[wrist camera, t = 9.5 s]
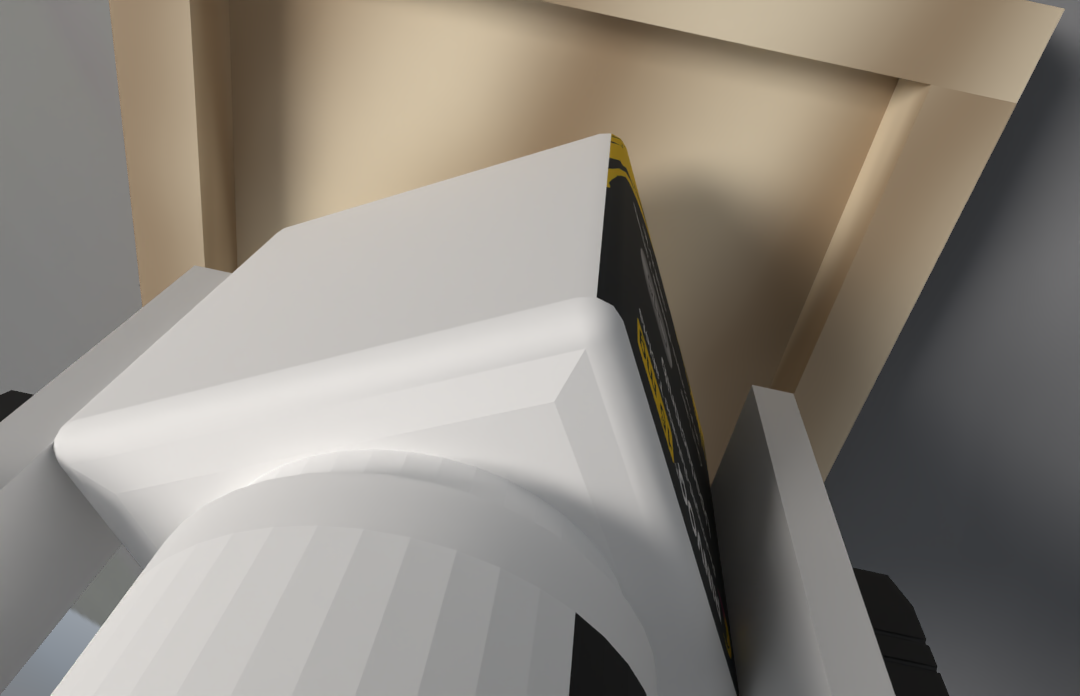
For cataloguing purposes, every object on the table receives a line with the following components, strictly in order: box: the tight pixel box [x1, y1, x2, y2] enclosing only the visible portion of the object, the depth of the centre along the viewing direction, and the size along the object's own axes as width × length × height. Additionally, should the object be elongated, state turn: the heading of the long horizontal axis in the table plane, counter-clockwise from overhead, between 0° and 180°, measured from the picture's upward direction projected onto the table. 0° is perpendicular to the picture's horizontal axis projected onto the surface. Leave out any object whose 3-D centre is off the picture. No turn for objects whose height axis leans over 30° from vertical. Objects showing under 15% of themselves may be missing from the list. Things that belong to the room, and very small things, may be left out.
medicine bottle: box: [51, 133, 739, 696], centre depth 10 cm, size 7×7×12 cm
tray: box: [109, 0, 1065, 487], centre depth 17 cm, size 16×16×2 cm
